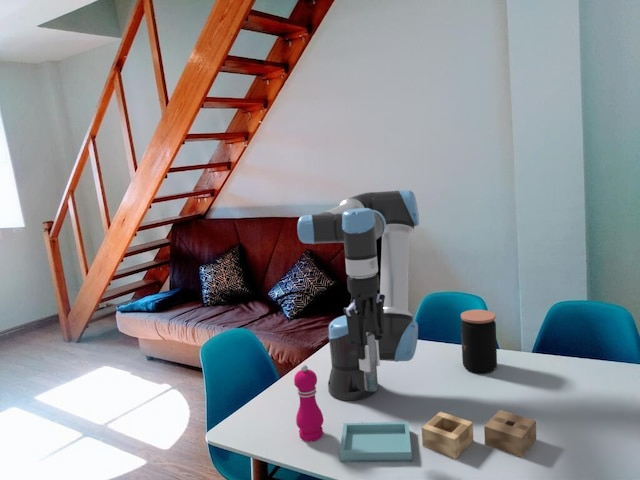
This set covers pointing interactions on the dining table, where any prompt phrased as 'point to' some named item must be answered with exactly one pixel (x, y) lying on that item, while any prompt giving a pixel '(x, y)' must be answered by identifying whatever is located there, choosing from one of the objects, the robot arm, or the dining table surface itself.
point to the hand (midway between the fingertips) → (369, 367)
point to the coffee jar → (479, 341)
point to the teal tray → (375, 442)
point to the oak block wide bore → (447, 434)
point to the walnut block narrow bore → (510, 433)
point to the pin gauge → (371, 364)
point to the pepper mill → (308, 406)
